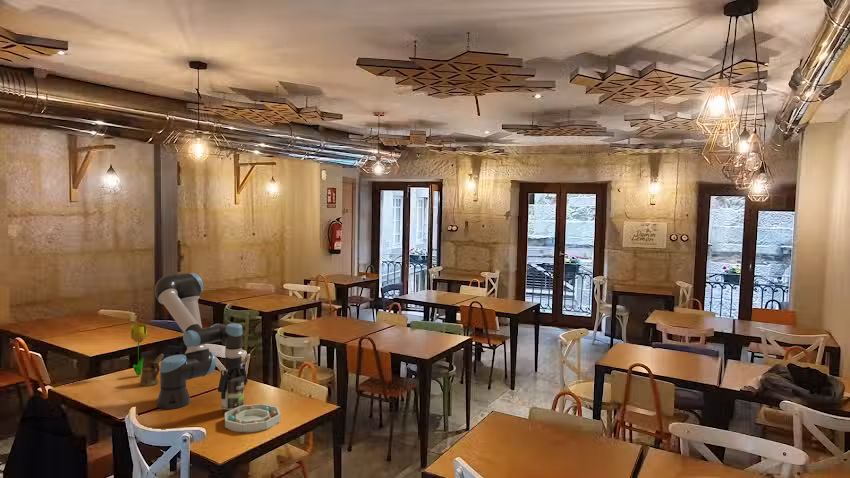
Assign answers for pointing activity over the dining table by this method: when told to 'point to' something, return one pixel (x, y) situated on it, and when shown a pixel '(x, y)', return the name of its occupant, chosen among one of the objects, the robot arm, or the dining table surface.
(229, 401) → the coffee can
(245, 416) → the tray
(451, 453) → the dining table surface
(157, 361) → the wooden mug
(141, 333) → the flower
